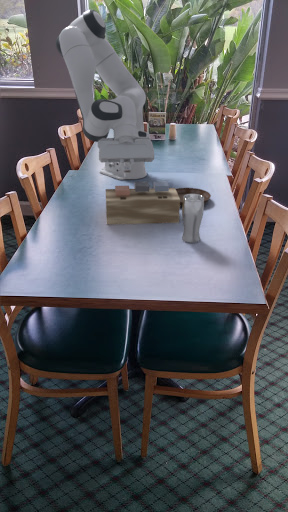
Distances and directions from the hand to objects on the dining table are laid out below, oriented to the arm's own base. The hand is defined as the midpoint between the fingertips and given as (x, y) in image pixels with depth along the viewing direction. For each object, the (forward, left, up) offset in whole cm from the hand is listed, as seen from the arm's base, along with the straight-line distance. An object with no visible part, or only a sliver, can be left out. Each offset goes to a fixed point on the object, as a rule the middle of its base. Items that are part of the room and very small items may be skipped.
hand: (127, 171), depth 164 cm
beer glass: (+30, -5, -17) cm, 35 cm away
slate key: (+11, +6, -6) cm, 14 cm away
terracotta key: (0, -3, -7) cm, 8 cm away
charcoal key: (+5, +1, -6) cm, 8 cm away
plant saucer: (+12, +25, -17) cm, 33 cm away
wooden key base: (+6, 0, -16) cm, 17 cm away
